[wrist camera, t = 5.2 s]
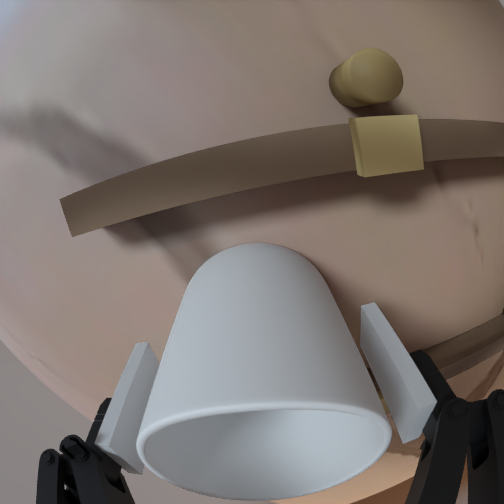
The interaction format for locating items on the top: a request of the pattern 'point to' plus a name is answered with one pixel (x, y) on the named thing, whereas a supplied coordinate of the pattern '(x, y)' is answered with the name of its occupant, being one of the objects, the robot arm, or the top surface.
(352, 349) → the cup
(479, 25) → the top surface
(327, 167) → the track
